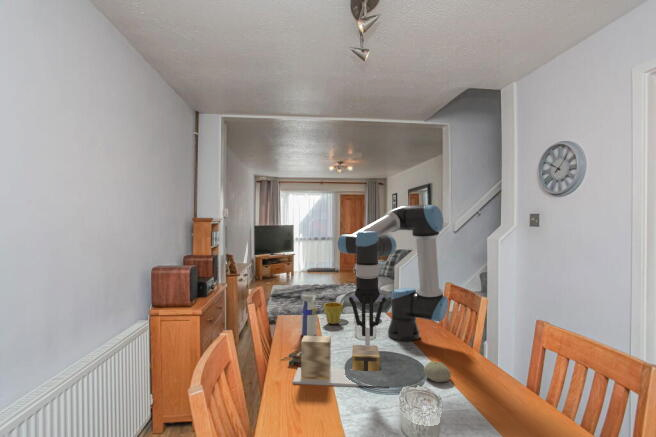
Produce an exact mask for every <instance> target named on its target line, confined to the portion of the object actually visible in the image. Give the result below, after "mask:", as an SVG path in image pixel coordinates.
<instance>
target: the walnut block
mask: <svg viewBox="0 0 656 437" xmlns="http://www.w3.org/2000/svg"><path fill="white" fill-rule="evenodd" d="M351 348H352V352H351V353H352V355H351V357H352V358H351V359H352V362H351V363H352V364H351V370H361V371H381V367H380V364H381V361H380V359H381V358H380V357H381V356H380V351H379V347H378V345H370V347H365V344H352V347H351Z"/></svg>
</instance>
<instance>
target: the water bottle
mask: <svg viewBox="0 0 656 437" xmlns="http://www.w3.org/2000/svg"><path fill="white" fill-rule="evenodd" d="M315 289H316V286H314V285H313V284H312V286H311V287H310V292H309V293H303V294H301V296H300V299H301V301H302V306H301V309H302V315H301V323H300V324H301V327H300V335H301V336H303V337H304V336H317V307H316V304H315V301H317V300H318V296H317V294H316V293H311V292H315Z"/></svg>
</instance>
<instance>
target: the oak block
mask: <svg viewBox="0 0 656 437" xmlns="http://www.w3.org/2000/svg"><path fill="white" fill-rule="evenodd" d="M331 338H332V337H331V336H329V335H328V336H325V335H314V336H303V337H302V339H301V342H300V344H301V345H300V347H301V378H306V379H329V378H330V372H331V369H332V366H331V365H332V364H331V360H332V358H331V356H332V355H331V354H332V353H331V350H332V349H331V348H332V345H331V344H332V342H331V341H332V339H331Z"/></svg>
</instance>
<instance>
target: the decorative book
mask: <svg viewBox="0 0 656 437" xmlns="http://www.w3.org/2000/svg"><path fill="white" fill-rule="evenodd" d="M285 359H286V361H287V360H289V361H288V364H289V365H293V366H297V367H296V368H297V369H298V367H301V346H300V347H298V348H297V349H296V350H295V351H293V352H291V353H289V354H288V357H287V356H286V357H283V359H280V361H281V362H282V361H285Z"/></svg>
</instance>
